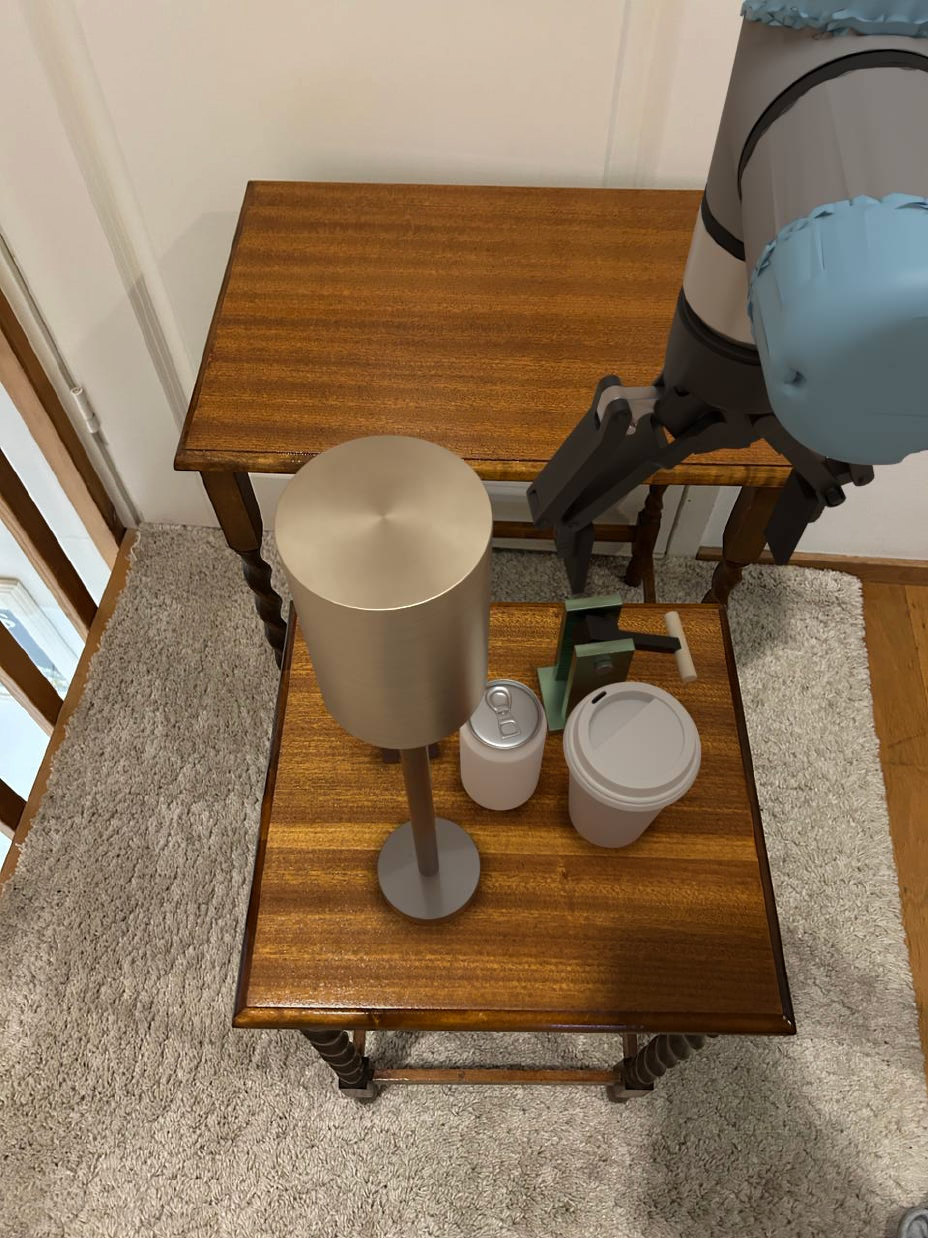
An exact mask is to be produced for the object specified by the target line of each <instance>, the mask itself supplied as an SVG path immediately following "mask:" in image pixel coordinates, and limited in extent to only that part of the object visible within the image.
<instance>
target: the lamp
mask: <svg viewBox="0 0 928 1238" xmlns="http://www.w3.org/2000/svg"><path fill="white" fill-rule="evenodd" d="M493 532H494V511H493V504H492V501H491V497H490V494H489V492H488V489H487V487H486V485H485V483H484V482H483V480H482V479H481V477H480V476H479V474H478V473H477V472H476V471H475V469H473V467H472V466H471V465H470V464H469V463H468V462H466V460H464V459H463V458H462V457H460V456H459V455H457V454H456V453H454V452H453V451H451V450H450V449H448V448H446V447H443V446H442V445H440V444H437V443H435V442H432V441H430V440H426V439H422V438H419V437H415V436H414V437H413V436H408V435H399V434H382V435H381V434H380V435H369V436H363V437H359V438H355V439H351V440H347V441H345V442H342V443H339V444H336V445H334V446H332V447H330V448H327V449H326V450H324V451H322V452H321V453H319V454H318V455H316V456H315V457H313V458H311V459H310V460H308V461H307V462H306V463H305V464H304V465H303V466H302V467H300V468H299V470H297V472H296V473H295V474H294V475H293V476H292V477H291V479H290V480H289V482H288V483H287V484H286V486H285V487H284V489H283V491H282V492H281V494H280V496H279V500H278V502H277V504H276V509H275V512H274V517H273V537H274V544H275V548H276V550H277V554H278V557H279V560H280V563H281V566H282V571H283V573H284V576H285V580H286V584H287V586H288V590H289V594H290V597H291V600H292V603H293V607H294V609H295V613H296V616H297V620H298V622H299V626H300V629H301V632H302V636H303V639H304V643H305V647H306V649H307V652H308V656H309V659H310V662H311V666H312V669H313V672H314V676H315V679H316V682H317V685H318V688H319V691H320V695H321V698H322V701H323V703H324V705H325V708H326V709H327V711H328V713H329V714H330V716H331V718H332V719H333V720H334V721H335V722H336V723H337V724H338V725H339V727H340V728H342V729H343V730H344V731H345V732H346V733H348V734H350V735H351V736H352V737H354V738H356V739H358V740H360V741H362V742H363V743H366V744H369V745H372V746H375V747H379V748H381V747H383V748H389V749H399V752H400V756H399V759H400V763H401V769H402V777H403V783H404V787H405V793H406V800H407V806H408V807H407V808H408V813H409V818H410V820H408V821H406V822H404V823H402V824H400V825H399V826H397V827H396V828H395V829H394V830H393V831H392V832H391V833H390V834H389V835H388V836H387V838H386V839H385V841H384V842H383V843H382V846H381V848H380V851H379V853H378V856H377V857H378V858H377V861H376V877H377V881H378V885H379V889H380V892H381V894H382V897H383V899H384V901H385V902H386V904H387V906H388V907H389V908H390V909H391V910H392V912H393V913H394V914H396V915H397V916H398V917H400V918H401V919H403V920H405V921H407V922H409V923H412V924H415V925H419V926H426V927H427V926H429V927H431V926H439V925H443V924H446V923H449V922H451V921H453V920H455V919H456V918H458V917H459V916H461V915H463V913H464V912H465V911H467V909H468V908H469V907H470V906H471V905H472V903H473V901H474V900H475V898H476V895H477V894H478V891H479V888H480V884H481V876H482V863H481V857H480V852H479V849H478V846H477V845H476V842H475V841H474V839H473V838H472V836H471V835H470V834H469V833H468V832H467V831H466V830H465V829H464V828H463V827H462V826H461V825H459V824H457V823H456V822H454V821H452V820H450V819H447V818H444V817H441V816H440V817H439V816H436V815H435V805H434V797H433V786H432V777H431V776H432V775H431V767H430V765H431V764H430V758H429V754H428V745H429V744H432V743H435V742H438V743H439V741H442V740H444V739H446V738H447V737H449V736H451V735H452V734H454V733H456V732H457V731H458V730H460V727H462V726H463V725H464V724H465V723H466V722H467V721H468V720H469V719H470V718H471V716H472V715H473V714H474V712H475V711H476V709H477V708H478V706H479V704H480V702H481V700H482V698H483V695H484V692H485V689H486V684H487V682H488V674H489V649H490V623H491V622H490V621H491V591H492V590H491V589H492V565H493V564H492V561H493V539H494V538H493V535H494V533H493Z"/></svg>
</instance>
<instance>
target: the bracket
mask: <svg viewBox="0 0 928 1238" xmlns="http://www.w3.org/2000/svg"><path fill="white" fill-rule="evenodd" d="M623 605H624V603H623V600H622V596H621V593H616V594H606V595H599V596H591V597H582V598H581V597H580V598H574V599H566V600H563V605H562V612H561V618H560V624H559V631H558V637H557V643H556V649H555V656H554V661H553V665H552V666H545V667H543V666H542V667H537V668H536V673H535V675H536V681H537V686H538V692H539V696H540V703H541V705H542V707H543V709H544V711H545V715H546V721H547V730H546V732H547V735H548V737H553V736H559V735H564V730H565V726H566V723H567V720H568V718H569V716H570V714H571V713H572V711H573V710H574V708H575V707H576V706H577V705H578V704H579V703H580V702H581V701H582V700H583V699H584V698H585V697H586V696H587V695H589V694H590V693H592V692H593V691H595V690H597V689H599V688H602V687H604V686H607V685H610V684H614V683H621V682H627V678H628V674H629V671H630V669H631V664H632V662H633V658H634V655H635V651H636V650H635V647H634V643H633V639H632V638H631V639H623V640H615V641H607V642H599V643H591V644H583V645H575V646H574V642H573V638H572V633H571V630H572V629H573V628H574V627H575V626H576V625H577V624H578V623H579V622H580V621H581V620H582V619H583V617H584V616H585V615H592V616H600V617H608V618H615V619H617V623H619V621H620V617H621V612H622V610H623V609H622V608H623Z"/></svg>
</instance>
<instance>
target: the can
mask: <svg viewBox="0 0 928 1238" xmlns="http://www.w3.org/2000/svg"><path fill="white" fill-rule="evenodd" d="M546 737H547V721H546V715H545V711H544V709H543V707H542V702H541V699H539V697H538V695H537V694H536V693H535V691H533V690H532V689H531V688H530V687H529V686H528V685H527V684H524V683H523V682H521V681H518V680H515V679H511V678H497V679H492V680H487V684H486V689H485V692H484V695H483V698H482V700H481V702H480V704H479V706H478V708H477V709H476V711H475V712H474V714H473V715H472V716H471V718H470V719H469V720H468V721H467V722H466V723H465V724H464V725H463V726H462V727H460V728H459V758H460V759H459V761H460V762H459V764H460V765H459V766H460V777H461V783H462V786H463V788H464V790H465V792H466V793H467V795H468V797H470V799H471V800H472V801H474V802H475V803H476V804H478V805H479V806H481V807H483V808H486V809H488V810H493V811H508V810H513V809H515V808H518V807H519V806H521V805H523V804H525V803H526V802H527V801H528V800H529V799H530V798H531V796H532V795H533V794H534V792H535V790H536V788H537V786H538V783H539V779H540V773H541V767H542V762H543V756H544V750H545V744H546Z"/></svg>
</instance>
